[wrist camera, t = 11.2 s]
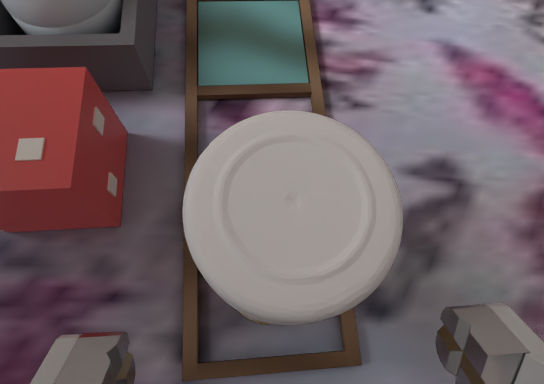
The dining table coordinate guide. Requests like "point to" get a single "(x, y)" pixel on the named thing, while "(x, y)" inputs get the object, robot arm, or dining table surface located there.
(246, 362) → the wooden frame
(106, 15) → the dome
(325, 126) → the sprinkles bottle
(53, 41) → the dome housing
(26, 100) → the red die
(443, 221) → the dining table surface
